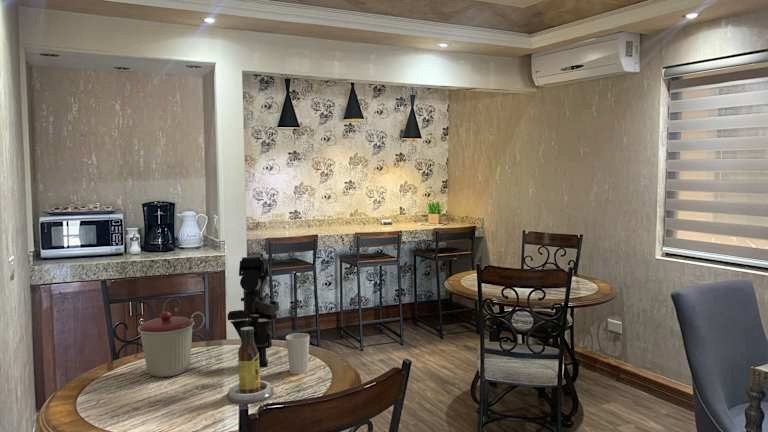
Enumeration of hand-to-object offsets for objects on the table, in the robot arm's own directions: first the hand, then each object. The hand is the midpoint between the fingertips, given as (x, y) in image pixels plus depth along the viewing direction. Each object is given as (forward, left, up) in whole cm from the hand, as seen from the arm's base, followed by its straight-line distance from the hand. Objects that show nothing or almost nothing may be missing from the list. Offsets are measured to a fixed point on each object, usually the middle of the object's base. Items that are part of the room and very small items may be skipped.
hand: (253, 342), depth 193 cm
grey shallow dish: (+12, -1, -13) cm, 17 cm away
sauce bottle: (+12, -1, -12) cm, 17 cm away
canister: (-15, -30, -13) cm, 36 cm away
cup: (-6, +14, -13) cm, 20 cm away
